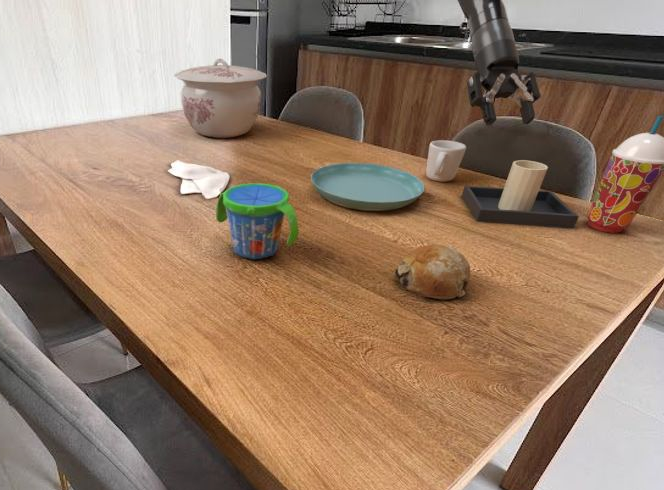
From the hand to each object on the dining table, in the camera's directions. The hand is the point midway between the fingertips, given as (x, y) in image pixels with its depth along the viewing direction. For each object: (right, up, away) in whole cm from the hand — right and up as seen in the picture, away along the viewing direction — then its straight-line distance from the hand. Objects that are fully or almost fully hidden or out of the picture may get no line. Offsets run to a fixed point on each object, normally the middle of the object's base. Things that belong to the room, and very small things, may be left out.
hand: (510, 122), depth 91 cm
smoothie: (+16, -22, -4) cm, 27 cm away
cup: (-7, -7, +17) cm, 20 cm away
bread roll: (-26, -34, -22) cm, 48 cm away
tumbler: (+2, -17, +1) cm, 17 cm away
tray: (+2, -18, +2) cm, 18 cm away
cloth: (-64, -7, +16) cm, 67 cm away
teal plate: (-27, -12, +9) cm, 31 cm away
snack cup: (-52, -28, -13) cm, 61 cm away
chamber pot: (-61, +19, +52) cm, 82 cm away
